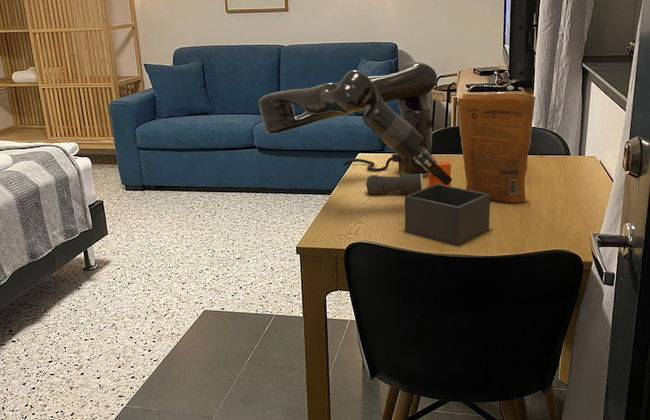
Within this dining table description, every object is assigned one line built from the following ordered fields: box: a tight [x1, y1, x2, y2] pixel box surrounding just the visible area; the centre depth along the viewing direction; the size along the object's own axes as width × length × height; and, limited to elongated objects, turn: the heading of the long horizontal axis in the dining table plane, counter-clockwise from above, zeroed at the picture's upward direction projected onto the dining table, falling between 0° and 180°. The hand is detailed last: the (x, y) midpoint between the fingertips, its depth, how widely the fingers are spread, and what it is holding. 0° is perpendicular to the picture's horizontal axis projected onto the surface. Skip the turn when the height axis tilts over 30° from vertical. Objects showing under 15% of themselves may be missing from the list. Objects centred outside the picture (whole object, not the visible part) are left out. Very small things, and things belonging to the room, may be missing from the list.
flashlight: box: [365, 174, 424, 195], centre depth 182 cm, size 15×5×5 cm, turn 83°
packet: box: [428, 161, 452, 187], centre depth 169 cm, size 5×3×11 cm, turn 93°
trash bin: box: [404, 184, 491, 246], centre depth 152 cm, size 15×13×9 cm
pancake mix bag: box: [456, 93, 536, 204], centre depth 169 cm, size 7×19×28 cm, turn 58°
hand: (447, 180), depth 168 cm, fingers closed on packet, 3 cm apart
